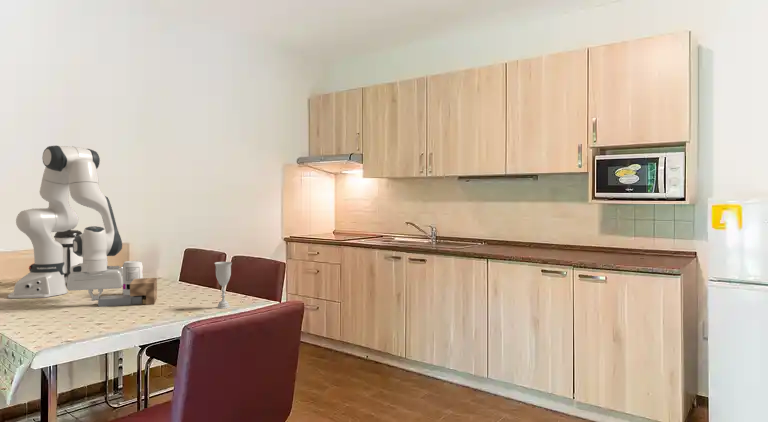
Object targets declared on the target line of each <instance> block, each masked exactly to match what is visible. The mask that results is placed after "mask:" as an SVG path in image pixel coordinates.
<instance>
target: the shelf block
mask: <svg viewBox="0 0 768 422" xmlns="http://www.w3.org/2000/svg"><path fill="white" fill-rule="evenodd" d="M130 296H143V303H142V305H146V306H150V305H151V306H154V305H155V303H156V301H157V300H158V278H157V277H143V278H140V279H134V280H133V281H132V282H131V283H130Z"/></svg>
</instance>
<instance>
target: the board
mask: <svg viewBox="0 0 768 422" xmlns="http://www.w3.org/2000/svg"><path fill="white" fill-rule="evenodd" d="M97 305H98V308H99V307H103V308H104V307H117V306H120V307H121V306H131V305H143V296H130V295H124V294H121V295H118V294H117V295H100V298H99V299H98V300H97Z"/></svg>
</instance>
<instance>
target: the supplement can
mask: <svg viewBox="0 0 768 422" xmlns="http://www.w3.org/2000/svg"><path fill="white" fill-rule="evenodd" d="M122 268H123V270H124V274H123V276H122V277H123V286H122V295H130V283H131V282H132V281H133V280H134V279H140V278H144V276H143V273H144V272H143V271H144V270H143V269H144V268H143V263H142V260H128V261H124V262H123V264H122Z"/></svg>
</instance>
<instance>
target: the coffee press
mask: <svg viewBox="0 0 768 422" xmlns="http://www.w3.org/2000/svg"><path fill="white" fill-rule="evenodd" d="M54 233H55V234H54V235H53V239H54V240H55V241H57V242H59V243H60V244H61V245H62V246H63V262H64V265H65V273H64V279H65V284H67V279H68V275H69V274H70V273H71V272H70V268H71V267H72V266H75V265H78V264H80V263H83V257H81V256H78V255H76V254H75V253H74V252H73V240H74V239H75V237H77V236H78V235H81V234H83V232H82V231H81V230H78V229H71V230H68V231H63V232H54Z"/></svg>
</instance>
